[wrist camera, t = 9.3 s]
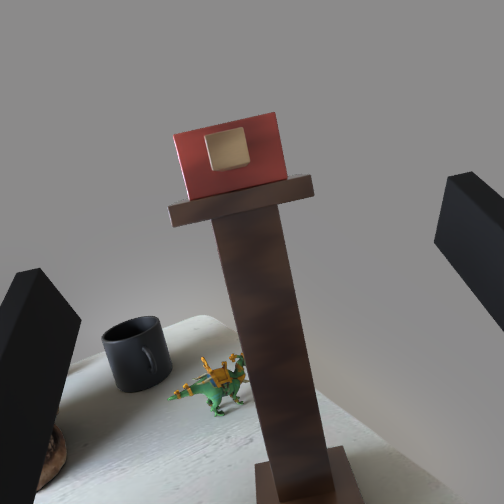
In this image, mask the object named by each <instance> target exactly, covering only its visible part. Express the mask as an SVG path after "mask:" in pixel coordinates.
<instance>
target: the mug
mask: <svg viewBox="0 0 504 504" xmlns="http://www.w3.org/2000/svg"><path fill="white" fill-rule="evenodd" d="M102 342H103V345H104V349H105V352H106V355H107V358H108V361H109V364H110V367H111V370H112V373H113V376H114V379H115V382H116V385H117V387H118V388H119V389H120V390H121V391H124V392H136V391H140V390H144V389H147V388H149V387H152V386H154V385H156V384H158V383H159V382H161V381H162V380H164V379H165V378H166V377H167V376H168V375H169V374H170V372H171V370H172V362H171V358H170V355H169V352H168V348H167V345H166V341H165V338H164V334H163V331H162V328H161V324H160V321H159V319H158V318H157V317H155V316H144V317H138V318H134V319H131V320H128V321H125V322H123V323H120V324H118V325H116V326H114V327H112V328H111V329H109V330H108V331H106V332H105V333H104V334H103V336H102Z"/></svg>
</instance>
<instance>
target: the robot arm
mask: <svg viewBox="0 0 504 504" xmlns="http://www.w3.org/2000/svg"><path fill="white" fill-rule="evenodd" d="M434 243H435V244H436V246H437V247H438V248H439V250H440V251H441V252H442V254H444V256H445V257H446V259H448V261H449V262H450V264H451V265H452V266H453V268H454V269H455V270H456V271H457V273H458V274H459V275H460V276H461V278H462V279H463V280H464V282H465V283H466V284H467V285H468V287H469V288H470V289H471V291H472V292H473V293H474V294H475V296H476V297H477V298H478V300H479V301H480V302H481V303H482V305H483V306H484V307H485V308H486V310H487V311H488V312H489V314H490V315H491V316H492V317H493V319H494V320H495V321H496V322H497V324H498V325H499V326H500V328H501V329H502V330H503V331H504V198H502V197H501V196H500V195H499V194H498V193H497V192H495V191H494V190H493V189H492V188H491V187H490V186H488V185H487V184H486V183H485V182H484V181H482V180H481V179H480V178H479V177H478V176H477V175H476V174H474V173H473V172H467V173H463V174H458V175H454V176H449V177H448V178H447V183H446V187H445V192H444V197H443V201H442V206H441V211H440V217H439V220H438V225H437V230H436V234H435V239H434ZM80 324H81V319H80V317H79V316H78V315H77V314H76V312H75V311H74V310H73V309H72V307H71V306H70V305H69V304H68V302H67V301H66V300H65V298H64V297H63V296H62V295H61V293H60V292H59V291H58V290H57V288H56V287H55V286H54V285H53V283H52V282H51V281H50V280H49V278H48V277H47V276H46V275H45V273H44V272H43V271H42V270H41V268H37V269H32V270H28V271H23V272H19V273H16V275H15V277H14V279H13V281H12V283H11V286H10V288H9V290H8V292H7V294H6V296H5V298H4V300H3V302H2V304H1V306H0V504H33V503H34V499H35V495H36V491H37V487H38V484H39V480H40V476H41V472H42V468H43V465H44V461H45V457H46V453H47V449H48V446H49V442H50V438H51V434H52V430H53V427H54V423H55V419H56V415H57V412H58V408H59V404H60V400H61V396H62V393H63V389H64V385H65V381H66V377H67V374H68V370H69V366H70V362H71V358H72V355H73V351H74V347H75V343H76V339H77V335H78V332H79V328H80Z"/></svg>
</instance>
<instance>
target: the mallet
mask: <svg viewBox="0 0 504 504" xmlns="http://www.w3.org/2000/svg"><path fill="white" fill-rule="evenodd" d="M173 138H174V142H175V146H176V150H177V154H178V158H179V162H180V166H181V169H182V174H183V178H184V182H185V186H186V190H187V194H188V198H189V200H190V201H192V200H196V199H201V198H205V197H210V196H214V195H219V194H223V193H228V192H232V191H237V190H241V189H246V188H250V187H255V186H259V185H264V184H268V183H273V182H277V181H281V180H286V179H288V176H287V171H286V166H285V161H284V155H283V151H282V145H281V140H280V135H279V130H278V124H277V119H276V114H275V112H271V113H267V114H263V115H258V116H254V117H249V118H245V119H240V120H237V121H231V122H227V123H223V124H218V125H214V126H210V127H205V128H200V129H196V130H192V131H188V132H183V133H178V134H174V135H173Z"/></svg>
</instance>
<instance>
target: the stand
mask: <svg viewBox="0 0 504 504" xmlns="http://www.w3.org/2000/svg"><path fill="white" fill-rule="evenodd" d="M313 196H314V190H313V184H312V179H311V175H302V174H298V175H297V174H296V175H292V176H288V179H286V180H281V181H277V182H273V183H268V184H264V185H259V186H255V187H250V188H246V189H241V190H237V191H232V192H228V193H223V194H219V195H214V196H210V197H205V198H201V199H196V200H192V201H190V200H189V199H184V200H181V201H178V202H176V203H174V204H172V205H170V206H168V207H167V209H168V213H169V216H170V220H171V223H172V227H178V226H182V225H187V224H192V223H196V222H201V221H205V220H211V225H212V229H213V233H214V237H215V241H216V245H217V250H218V254H219V258H220V261H221V266H222V270H223V274H224V278H225V282H226V286H227V290H228V294H229V299H230V302H231V307H232V311H233V315H234V319H235V323H236V327H237V332H238V336H239V340H240V344H241V348H242V352H243V356H244V360H245V364H246V368H247V373H248V377H249V381H250V385H251V389H252V393H253V397H254V401H255V405H256V409H257V414H258V418H259V422H260V426H261V430H262V434H263V438H264V442H265V446H266V450H267V455H268V459H269V461H267V462H263V463H258V464H255V481H256V499H257V504H365V503H364V501H363V498H362V495H361V493H360V490H359V488H358V485H357V482H356V480H355V477H354V474H353V472H352V469H351V467H350V464H349V461H348V459H347V456H346V453H345V451H344V448H343V446H337V447H333V448H328V449H327V447H326V442H325V437H324V432H323V427H322V422H321V417H320V412H319V407H318V402H317V398H316V393H315V388H314V383H313V378H312V373H311V368H310V363H309V358H308V354H307V349H306V343H305V339H304V334H303V329H302V324H301V319H300V314H299V309H298V304H297V299H296V294H295V289H294V284H293V279H292V275H291V270H290V265H289V260H288V255H287V250H286V245H285V240H284V235H283V230H282V225H281V221H280V215H279V210H278V206H277V204H282V203H286V202H291V201H295V200H300V199H304V198H308V197H313Z"/></svg>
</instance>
